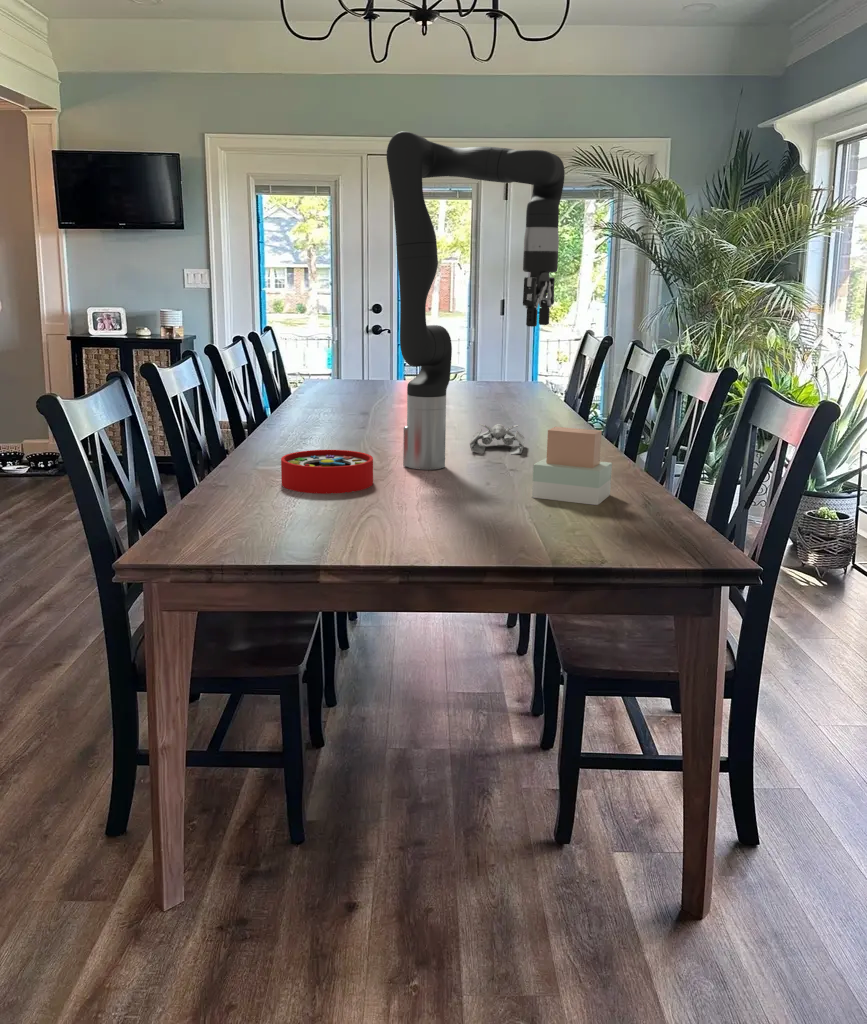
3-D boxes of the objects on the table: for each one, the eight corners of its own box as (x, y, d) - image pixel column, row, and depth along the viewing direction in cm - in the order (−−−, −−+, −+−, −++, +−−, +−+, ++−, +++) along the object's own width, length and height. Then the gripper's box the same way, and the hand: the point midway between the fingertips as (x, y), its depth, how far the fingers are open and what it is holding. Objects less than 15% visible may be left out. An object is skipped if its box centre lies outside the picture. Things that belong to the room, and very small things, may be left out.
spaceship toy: (468, 456, 239) (469, 431, 237) (474, 442, 258) (475, 420, 256) (523, 458, 237) (524, 433, 235) (524, 444, 256) (525, 421, 255)
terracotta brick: (593, 468, 190) (595, 434, 188) (546, 463, 194) (547, 430, 192) (599, 463, 194) (601, 430, 192) (553, 459, 198) (555, 426, 196)
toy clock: (261, 460, 199) (317, 446, 216) (262, 487, 201) (317, 471, 218) (338, 471, 190) (390, 455, 207) (339, 499, 191) (390, 481, 208)
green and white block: (531, 497, 194) (533, 464, 192) (546, 487, 203) (548, 456, 201) (597, 505, 188) (599, 471, 187) (610, 495, 197) (612, 462, 195)
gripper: (547, 248, 194) (543, 327, 198) (567, 250, 207) (563, 325, 211) (513, 248, 197) (510, 326, 201) (535, 250, 210) (532, 323, 214)
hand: (537, 325), depth 206 cm, fingers open, 8 cm apart
